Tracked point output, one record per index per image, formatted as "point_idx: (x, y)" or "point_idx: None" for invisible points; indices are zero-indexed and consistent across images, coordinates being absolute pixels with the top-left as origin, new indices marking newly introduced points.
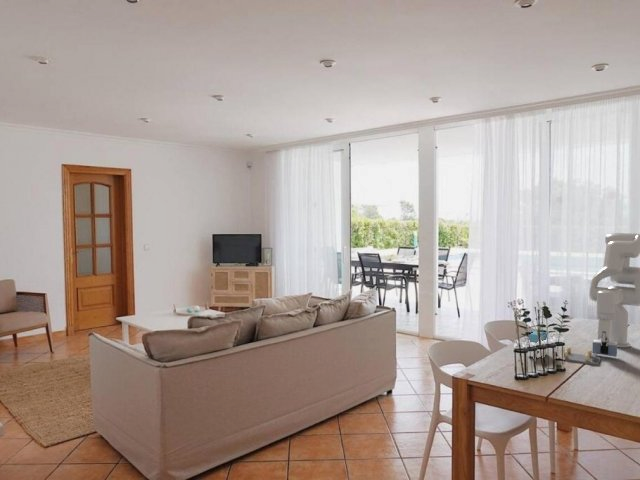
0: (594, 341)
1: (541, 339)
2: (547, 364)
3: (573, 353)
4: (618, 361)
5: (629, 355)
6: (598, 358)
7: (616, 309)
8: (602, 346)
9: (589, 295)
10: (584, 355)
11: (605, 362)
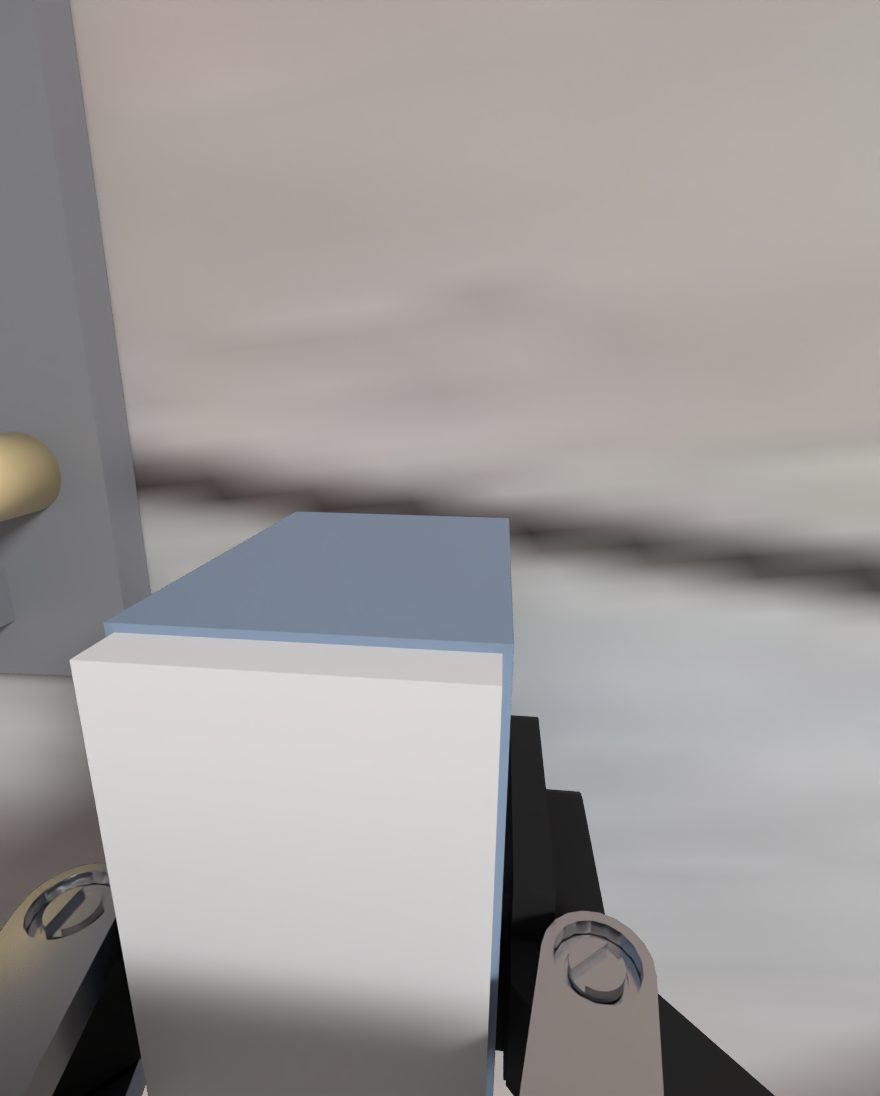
0: (100, 725)
1: None
2: None
3: (26, 38)
4: None
5: (782, 1047)
6: (23, 644)
7: None
8: (104, 886)
9: None
10: (43, 351)
11: (26, 734)
